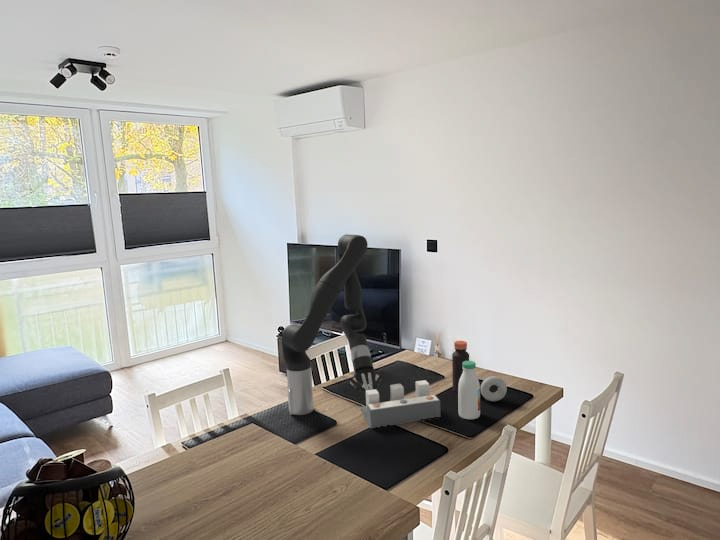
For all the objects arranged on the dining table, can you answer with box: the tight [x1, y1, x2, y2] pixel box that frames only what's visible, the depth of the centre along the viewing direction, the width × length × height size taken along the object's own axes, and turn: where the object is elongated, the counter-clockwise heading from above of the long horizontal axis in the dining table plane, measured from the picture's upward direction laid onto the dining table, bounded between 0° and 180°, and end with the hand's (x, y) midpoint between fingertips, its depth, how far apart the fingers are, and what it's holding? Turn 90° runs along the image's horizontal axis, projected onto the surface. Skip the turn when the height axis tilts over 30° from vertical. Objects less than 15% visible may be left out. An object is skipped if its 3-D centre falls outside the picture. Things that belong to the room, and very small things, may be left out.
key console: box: [360, 394, 442, 429], centre depth 182 cm, size 26×15×7 cm, turn 103°
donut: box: [480, 375, 508, 402], centre depth 189 cm, size 10×4×10 cm, turn 90°
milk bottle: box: [457, 360, 481, 420], centre depth 178 cm, size 8×8×20 cm
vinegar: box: [451, 340, 470, 393], centre depth 200 cm, size 7×7×20 cm
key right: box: [414, 379, 431, 398], centre depth 186 cm, size 4×4×8 cm
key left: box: [365, 389, 380, 411], centre depth 180 cm, size 4×4×8 cm
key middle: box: [389, 383, 405, 401], centre depth 184 cm, size 4×4×8 cm
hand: (371, 401), depth 182 cm, fingers closed
